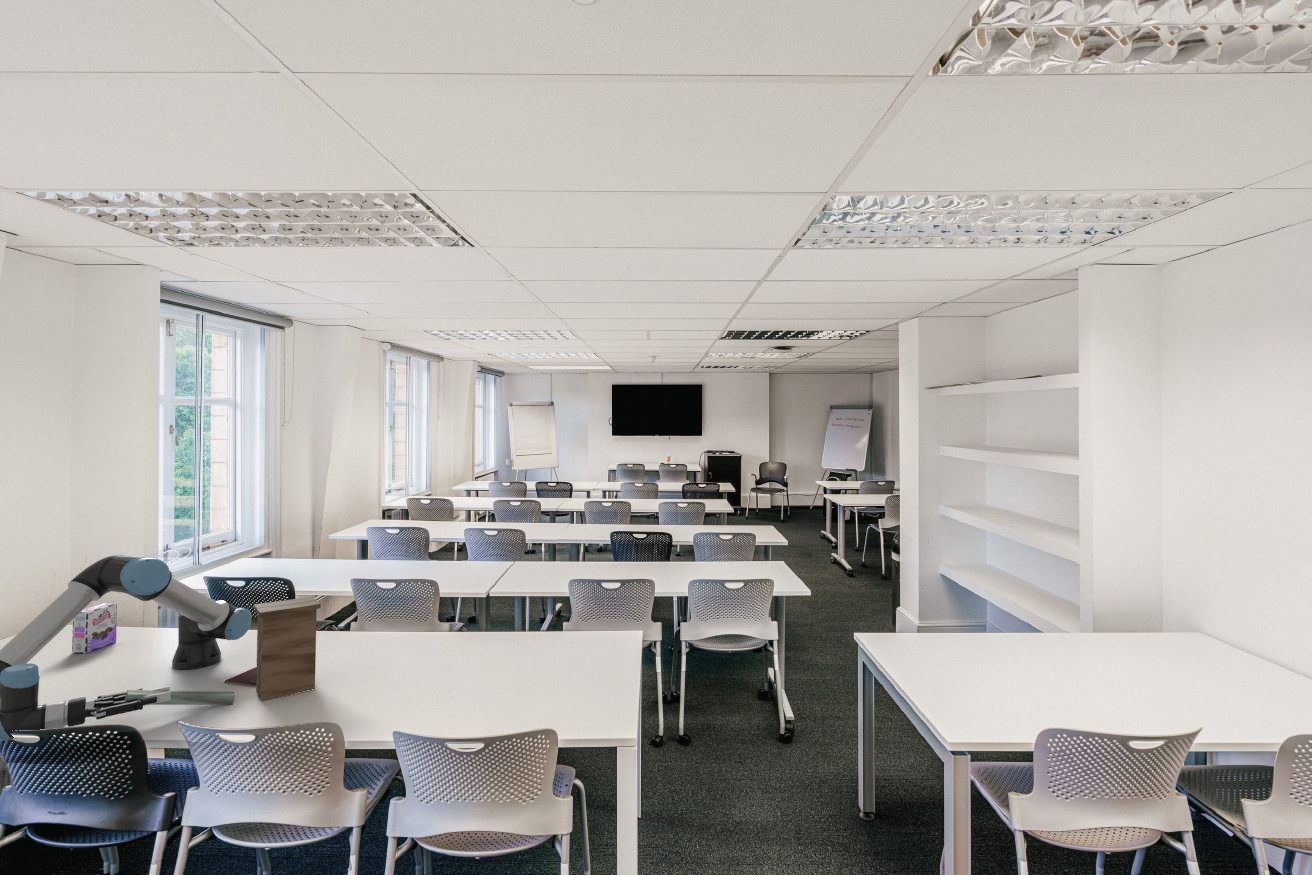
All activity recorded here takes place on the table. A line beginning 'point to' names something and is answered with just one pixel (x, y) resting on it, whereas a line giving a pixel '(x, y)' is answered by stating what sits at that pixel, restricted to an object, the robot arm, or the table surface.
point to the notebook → (244, 678)
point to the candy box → (94, 628)
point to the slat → (187, 697)
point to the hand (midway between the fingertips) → (169, 692)
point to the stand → (286, 647)
